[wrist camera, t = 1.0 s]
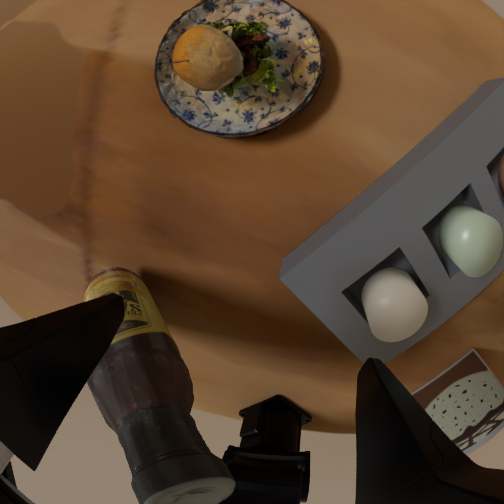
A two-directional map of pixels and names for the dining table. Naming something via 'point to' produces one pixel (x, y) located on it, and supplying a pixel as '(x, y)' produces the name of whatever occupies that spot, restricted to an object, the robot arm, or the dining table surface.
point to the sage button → (470, 239)
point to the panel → (407, 229)
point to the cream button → (393, 304)
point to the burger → (239, 66)
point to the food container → (465, 402)
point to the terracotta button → (501, 175)
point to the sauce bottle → (153, 402)
